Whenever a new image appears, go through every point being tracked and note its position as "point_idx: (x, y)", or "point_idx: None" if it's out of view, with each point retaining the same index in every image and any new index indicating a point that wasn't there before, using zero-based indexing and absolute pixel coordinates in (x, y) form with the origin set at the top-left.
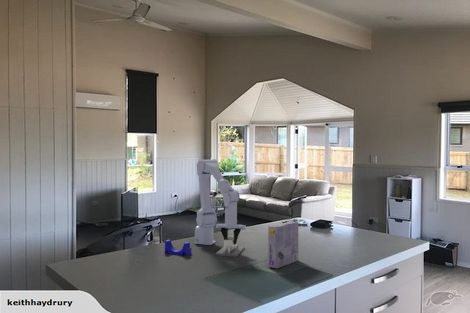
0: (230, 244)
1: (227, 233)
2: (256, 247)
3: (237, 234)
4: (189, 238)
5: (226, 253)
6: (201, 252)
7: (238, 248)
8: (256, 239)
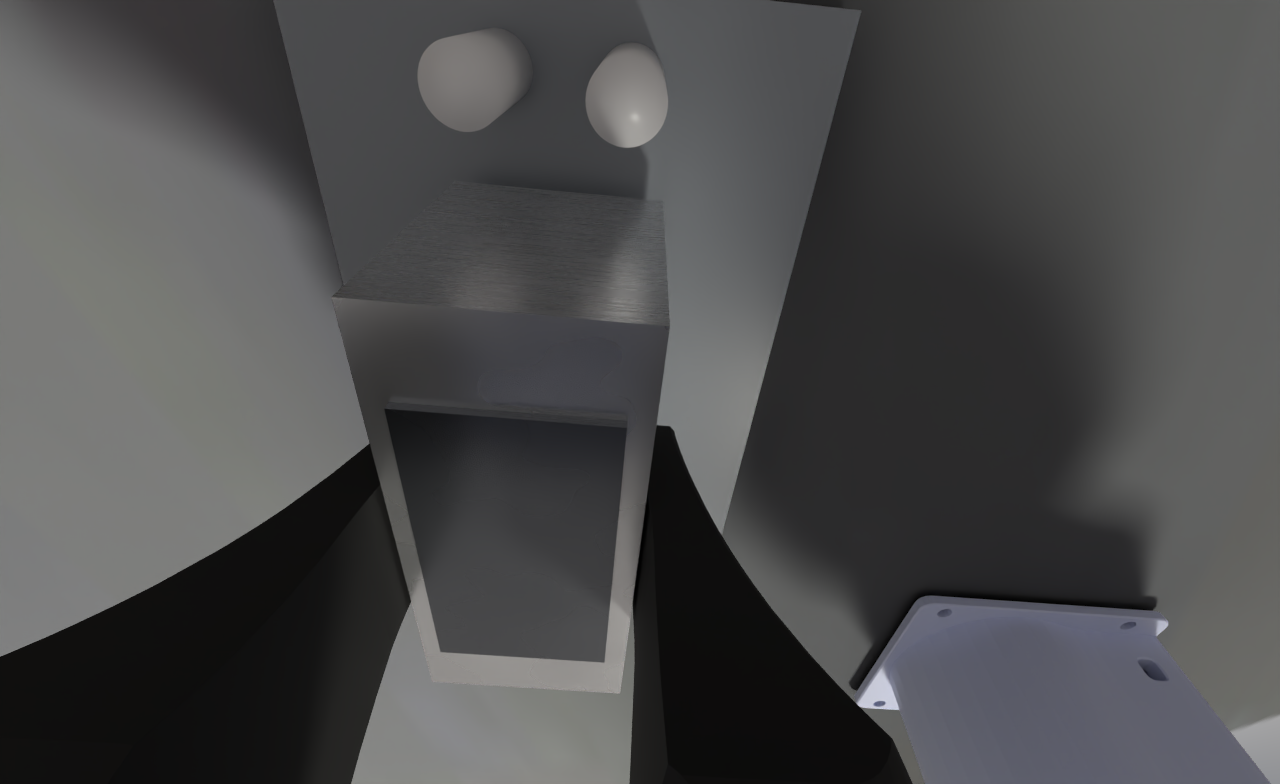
0: (443, 244)
1: (633, 726)
2: None
3: (106, 612)
4: None
5: (558, 26)
6: (1167, 193)
7: None
8: (453, 777)
